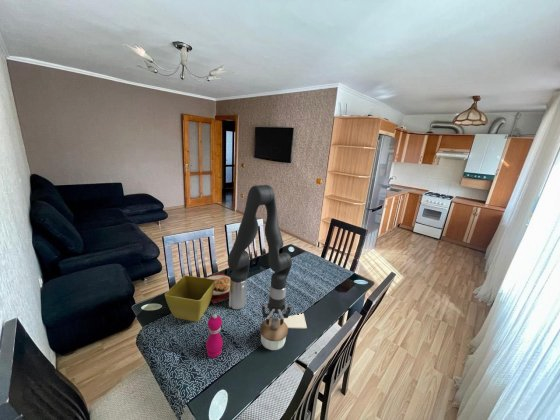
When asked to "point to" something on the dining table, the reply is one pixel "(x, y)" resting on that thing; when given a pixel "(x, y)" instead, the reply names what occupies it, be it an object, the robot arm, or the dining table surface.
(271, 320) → the lid
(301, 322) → the mat
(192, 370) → the dining table surface
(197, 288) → the flower pot
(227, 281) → the plate with food
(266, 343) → the bowl
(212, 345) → the pepper mill
